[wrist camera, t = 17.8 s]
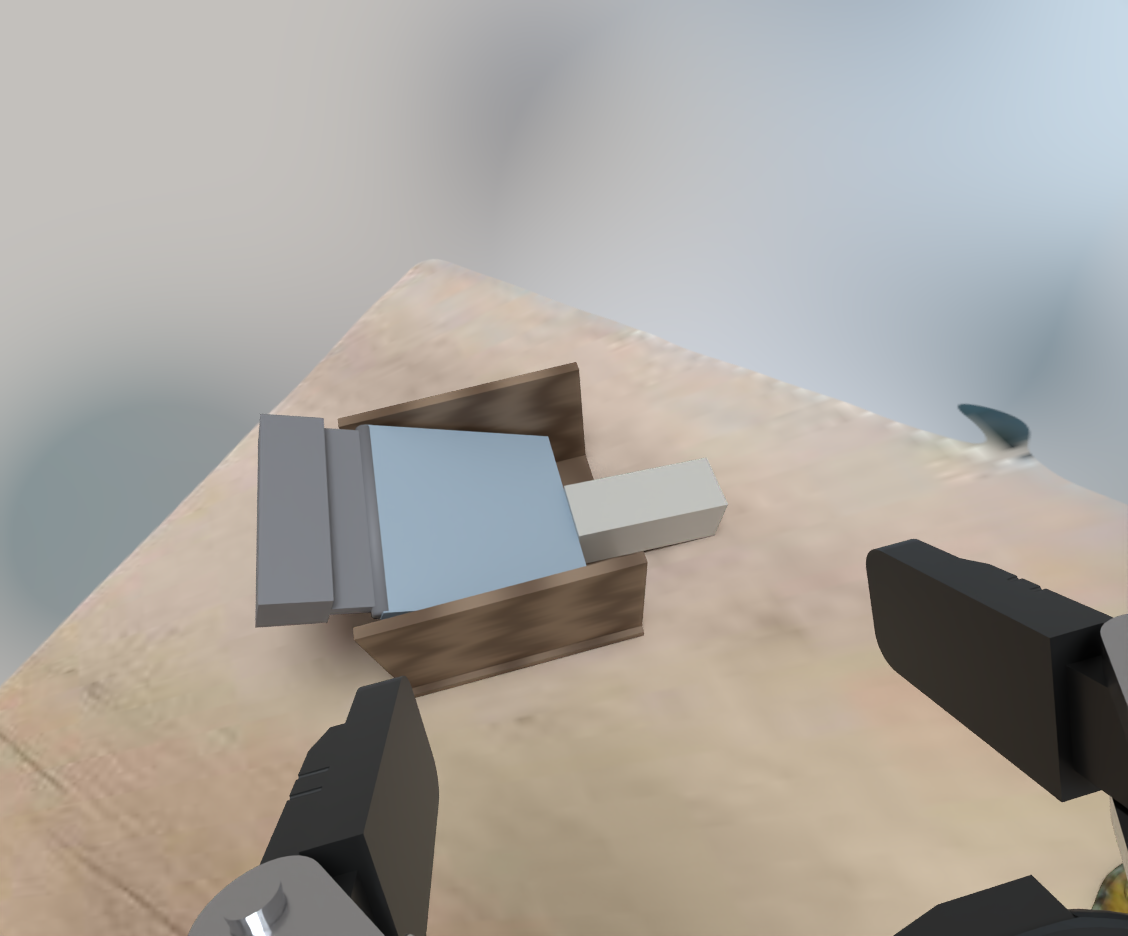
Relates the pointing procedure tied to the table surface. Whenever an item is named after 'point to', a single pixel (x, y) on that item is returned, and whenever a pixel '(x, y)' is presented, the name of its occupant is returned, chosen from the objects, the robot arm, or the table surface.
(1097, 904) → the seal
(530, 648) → the trapdoor stand
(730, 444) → the table surface
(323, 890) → the robot arm
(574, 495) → the grey stone pillar
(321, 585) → the trapdoor
